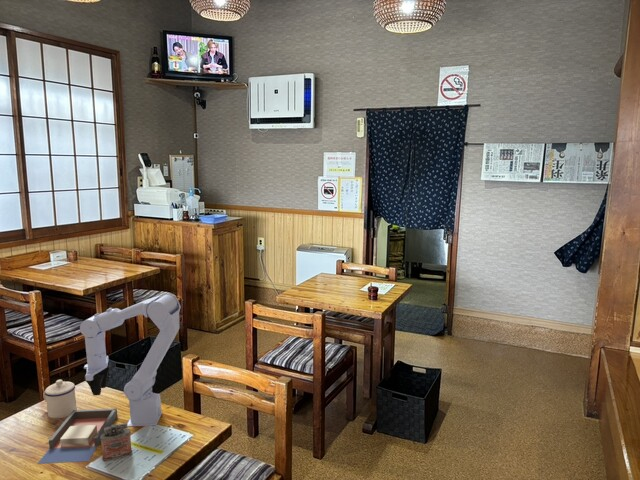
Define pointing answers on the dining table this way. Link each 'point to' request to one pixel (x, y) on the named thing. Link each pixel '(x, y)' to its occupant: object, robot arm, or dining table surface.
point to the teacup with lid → (60, 399)
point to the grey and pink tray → (82, 418)
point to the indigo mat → (68, 455)
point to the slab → (78, 435)
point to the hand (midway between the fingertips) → (99, 391)
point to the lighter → (116, 442)
